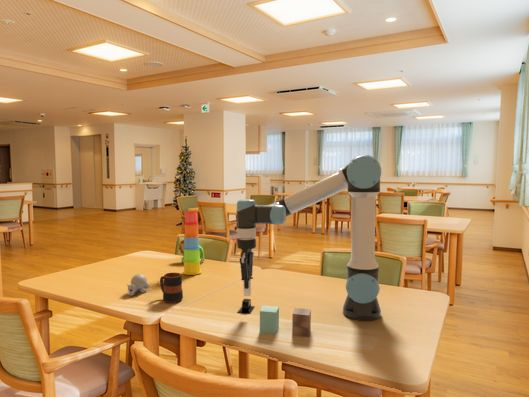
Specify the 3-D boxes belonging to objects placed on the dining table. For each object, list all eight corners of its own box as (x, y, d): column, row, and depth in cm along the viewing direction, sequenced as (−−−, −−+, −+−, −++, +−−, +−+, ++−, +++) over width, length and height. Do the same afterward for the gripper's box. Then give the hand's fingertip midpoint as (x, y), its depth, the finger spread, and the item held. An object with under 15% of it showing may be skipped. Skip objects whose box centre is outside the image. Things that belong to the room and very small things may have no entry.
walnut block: (310, 330, 148) (310, 309, 147) (308, 337, 142) (309, 315, 141) (294, 328, 149) (294, 308, 148) (292, 335, 143) (292, 313, 143)
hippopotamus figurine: (124, 300, 186) (118, 285, 182) (141, 284, 196) (135, 270, 192) (136, 302, 183) (130, 287, 179) (152, 286, 192) (147, 271, 189)
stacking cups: (179, 274, 219) (179, 212, 216) (187, 270, 229) (186, 210, 226) (197, 276, 217) (197, 213, 214) (204, 271, 227) (204, 211, 224)
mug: (167, 294, 187) (167, 270, 186) (186, 299, 180) (186, 273, 179) (153, 299, 179) (153, 274, 178) (173, 304, 173) (173, 278, 172)
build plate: (242, 305, 175) (242, 294, 175) (258, 306, 174) (258, 296, 173) (234, 315, 163) (234, 304, 163) (251, 316, 162) (251, 305, 161)
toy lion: (205, 261, 249) (204, 237, 248) (202, 264, 244) (202, 239, 242) (180, 260, 252) (180, 236, 250) (177, 262, 246) (177, 238, 245)
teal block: (278, 327, 150) (278, 306, 150) (275, 333, 145) (276, 312, 144) (263, 325, 152) (263, 305, 151) (259, 332, 146) (259, 311, 145)
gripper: (242, 235, 167) (242, 290, 169) (232, 240, 154) (233, 300, 156) (259, 235, 165) (260, 291, 167) (251, 241, 153) (252, 301, 155)
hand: (247, 295), depth 162 cm, fingers closed
